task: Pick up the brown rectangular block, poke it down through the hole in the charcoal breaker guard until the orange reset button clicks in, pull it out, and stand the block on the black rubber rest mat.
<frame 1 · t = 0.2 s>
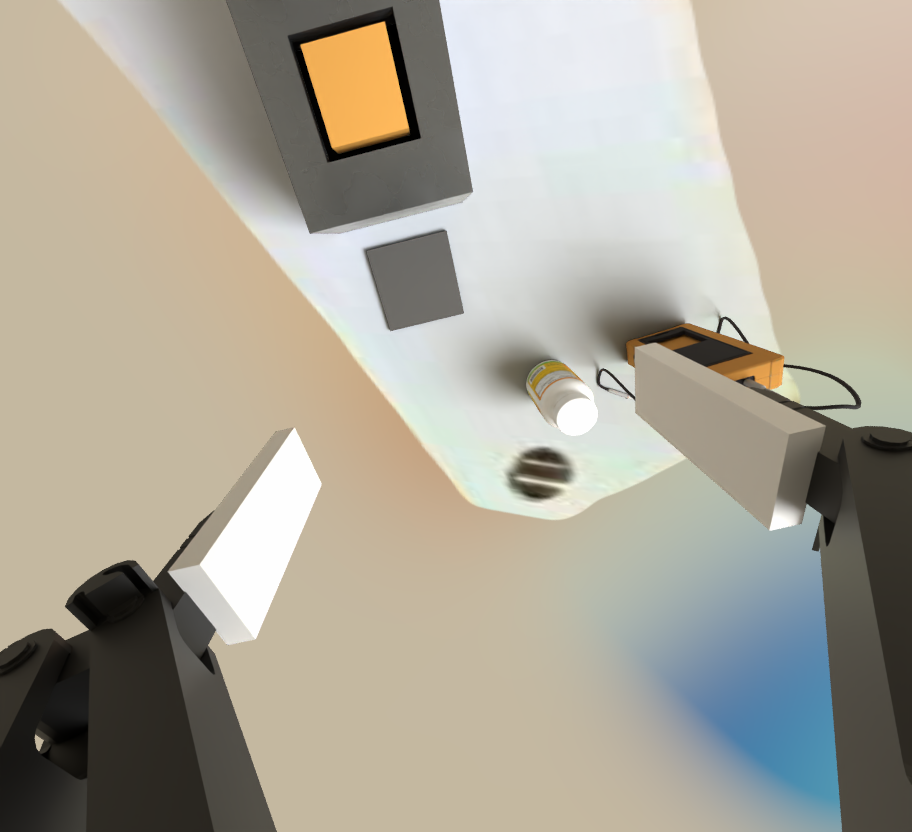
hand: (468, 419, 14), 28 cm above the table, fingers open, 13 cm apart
breaker guard: (377, 129, 33), on the table
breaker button: (364, 104, 26), point 7 cm above the table, slide at 0.0 cm
rest mat: (417, 282, 38), on the table
multimeter: (657, 370, 45), on the table
supplement bottle: (547, 380, 44), on the table
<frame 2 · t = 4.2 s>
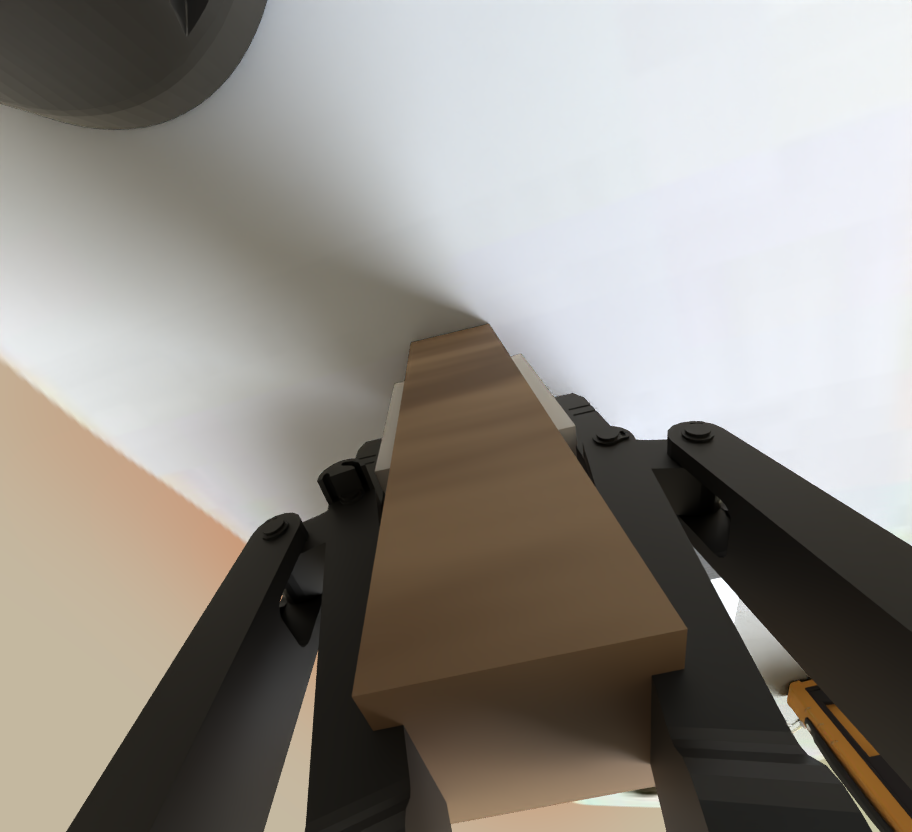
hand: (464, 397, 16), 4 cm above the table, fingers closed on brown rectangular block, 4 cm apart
brown rectangular block: (458, 370, 20), on the table, touching gripper
breaker guard: (529, 542, 25), on the table
multimeter: (815, 698, 37), on the table
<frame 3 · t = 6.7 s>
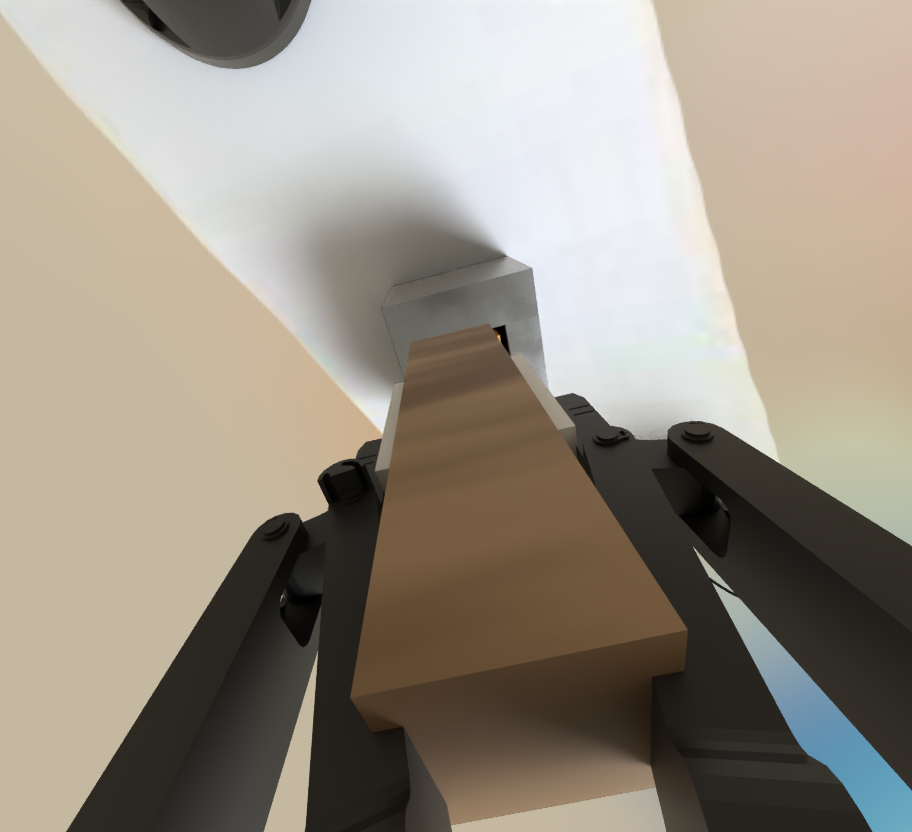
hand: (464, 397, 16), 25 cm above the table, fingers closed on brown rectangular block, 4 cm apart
brown rectangular block: (458, 370, 20), point 22 cm above the table, touching gripper
breaker guard: (464, 337, 41), on the table
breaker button: (471, 359, 35), point 7 cm above the table, slide at 0.0 cm
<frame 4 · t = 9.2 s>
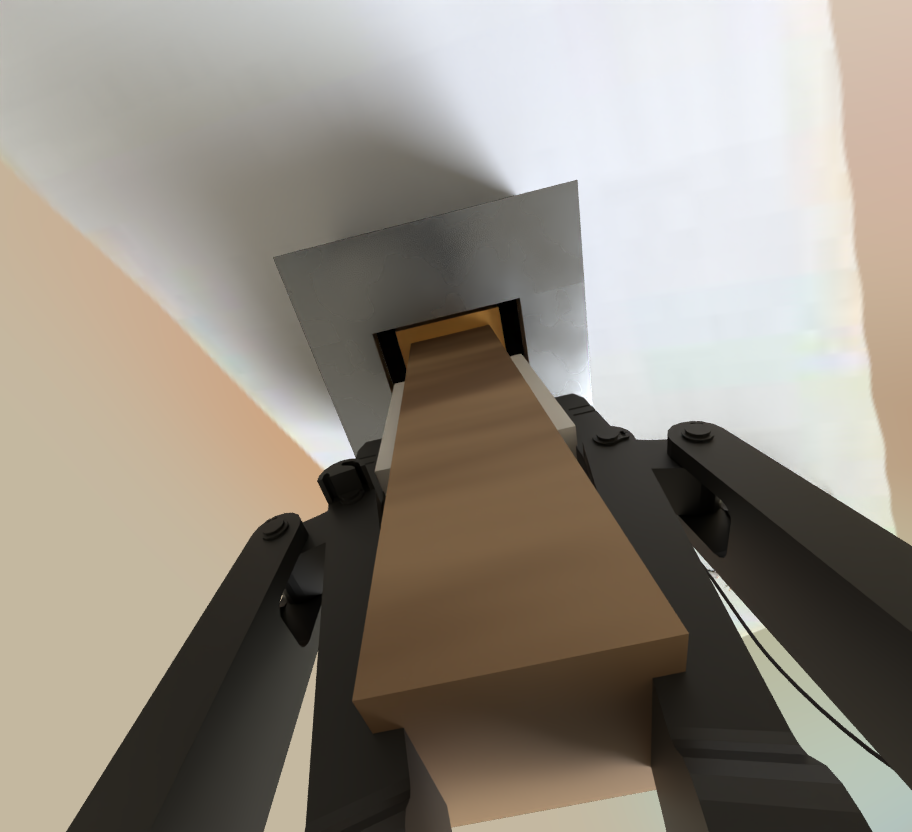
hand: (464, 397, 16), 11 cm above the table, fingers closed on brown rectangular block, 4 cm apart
brown rectangular block: (458, 371, 20), point 8 cm above the table, touching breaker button, gripper
breaker guard: (450, 332, 26), on the table
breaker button: (454, 351, 22), point 5 cm above the table, slide at 2.6 cm, touching brown rectangular block
multimeter: (752, 548, 39), on the table
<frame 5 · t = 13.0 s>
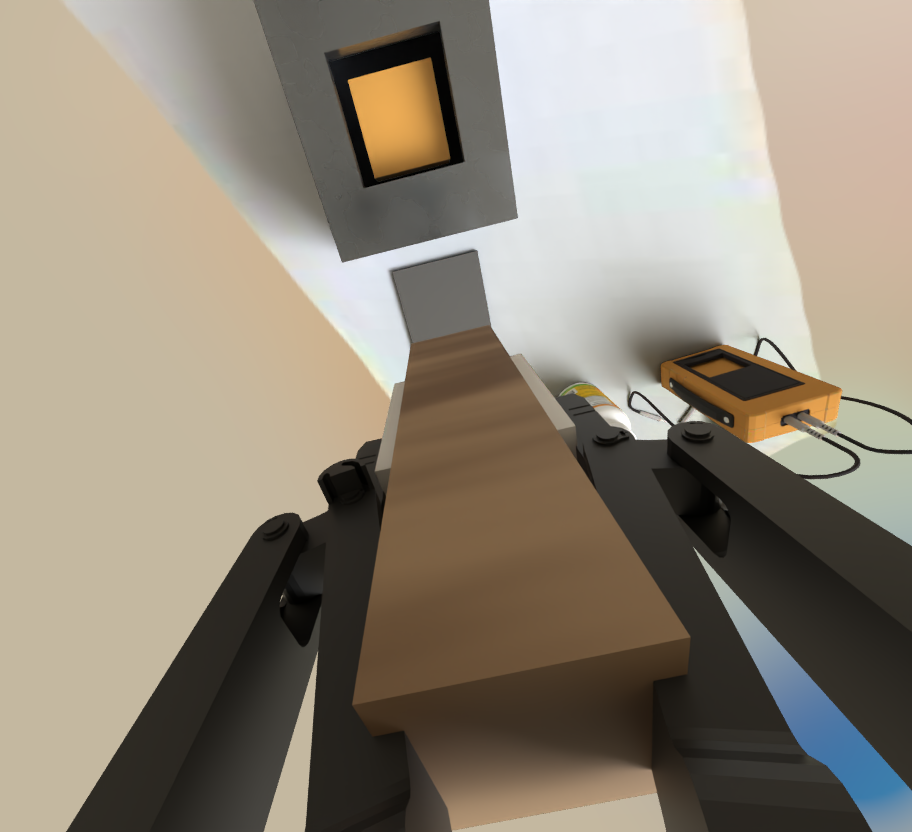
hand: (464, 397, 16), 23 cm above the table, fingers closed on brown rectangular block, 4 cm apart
brown rectangular block: (458, 371, 20), point 19 cm above the table, touching gripper
breaker guard: (407, 145, 31), on the table
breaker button: (404, 132, 27), point 5 cm above the table, slide at 2.6 cm
rest mat: (444, 304, 37), on the table
multimeter: (690, 392, 43), on the table
supplement bottle: (576, 402, 42), on the table
when the fingers open (6 cm above the table, at t = 16.1 s): brown rectangular block drops 2 cm, resting on rest mat.
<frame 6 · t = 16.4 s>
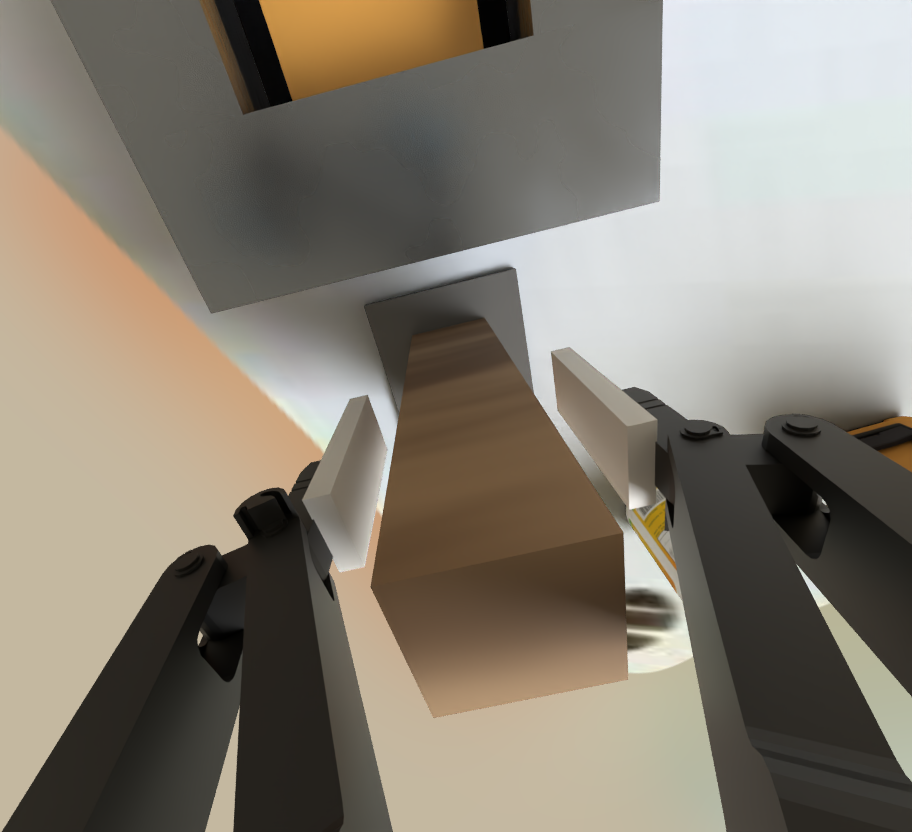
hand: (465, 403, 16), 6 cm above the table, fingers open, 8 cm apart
brown rectangular block: (456, 361, 21), resting on rest mat
breaker guard: (387, 66, 16), on the table
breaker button: (372, 8, 12), point 5 cm above the table, slide at 2.6 cm
rest mat: (456, 358, 21), on the table
multimeter: (834, 482, 28), on the table
supplement bottle: (659, 500, 27), on the table
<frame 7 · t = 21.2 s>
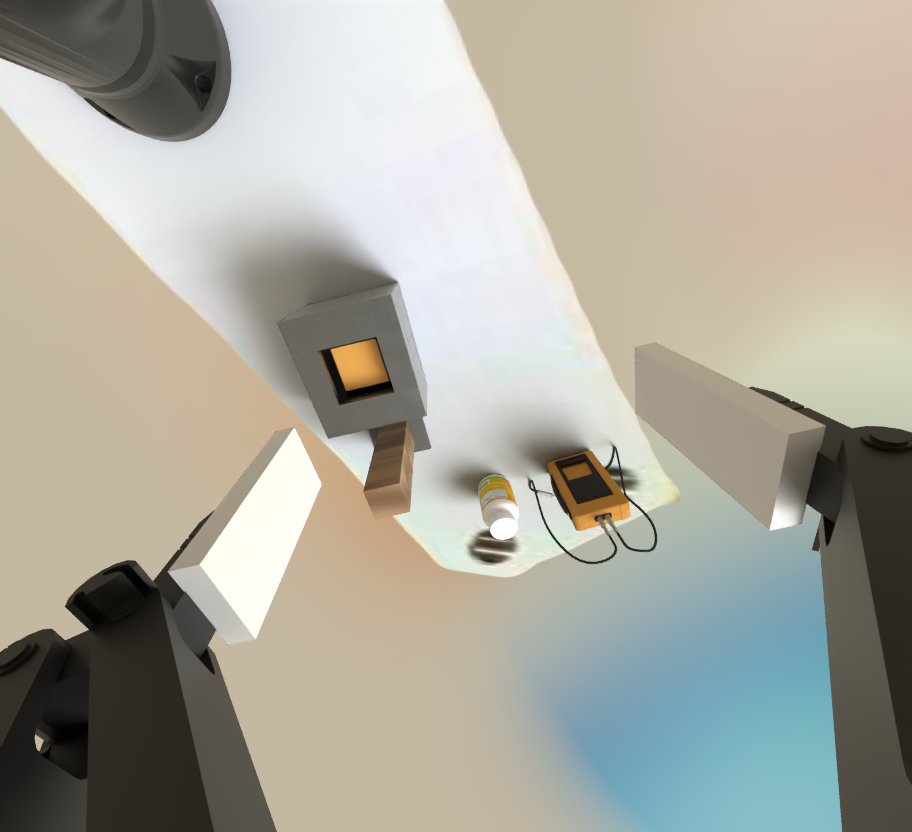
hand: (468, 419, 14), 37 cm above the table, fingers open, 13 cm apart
brown rectangular block: (397, 432, 55), resting on rest mat
breaker guard: (369, 347, 50), on the table
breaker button: (364, 357, 46), point 5 cm above the table, slide at 2.6 cm
rest mat: (398, 430, 56), on the table
multimeter: (572, 478, 62), on the table
supplement bottle: (493, 486, 62), on the table
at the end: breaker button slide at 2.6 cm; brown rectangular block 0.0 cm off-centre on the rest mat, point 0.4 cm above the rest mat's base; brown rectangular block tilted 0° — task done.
